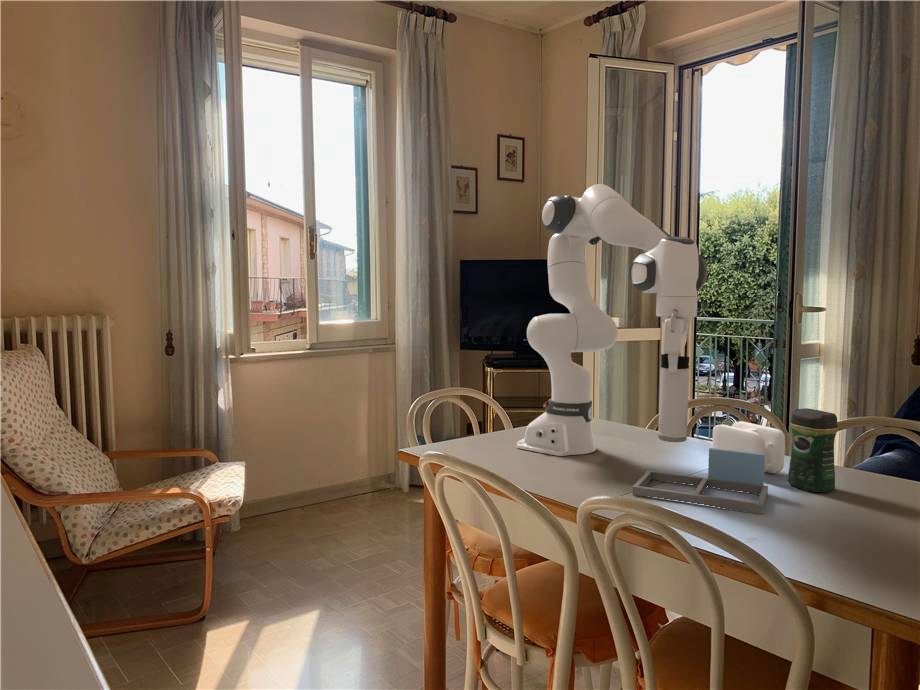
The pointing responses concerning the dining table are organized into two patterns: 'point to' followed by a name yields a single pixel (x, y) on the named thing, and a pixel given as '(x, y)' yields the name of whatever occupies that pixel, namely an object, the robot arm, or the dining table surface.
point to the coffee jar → (813, 450)
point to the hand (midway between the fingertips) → (674, 369)
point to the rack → (716, 481)
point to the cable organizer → (752, 442)
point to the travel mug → (673, 400)
